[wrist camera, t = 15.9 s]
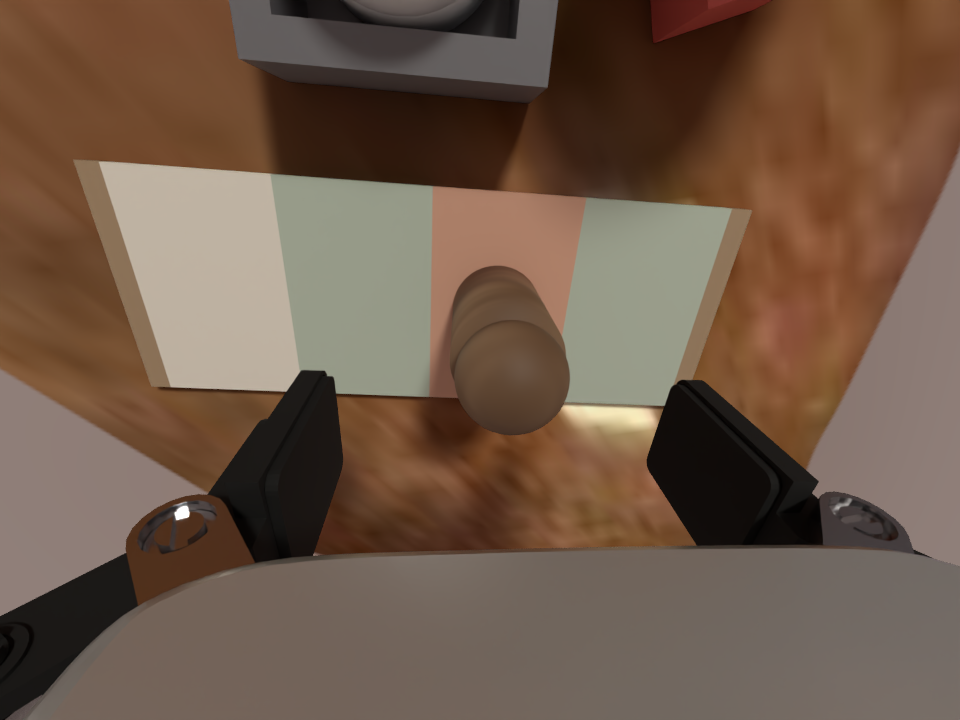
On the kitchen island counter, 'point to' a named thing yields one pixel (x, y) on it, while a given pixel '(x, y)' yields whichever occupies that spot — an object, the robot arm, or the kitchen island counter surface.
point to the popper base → (401, 48)
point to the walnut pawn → (506, 353)
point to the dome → (413, 13)
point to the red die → (694, 14)
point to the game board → (398, 278)
